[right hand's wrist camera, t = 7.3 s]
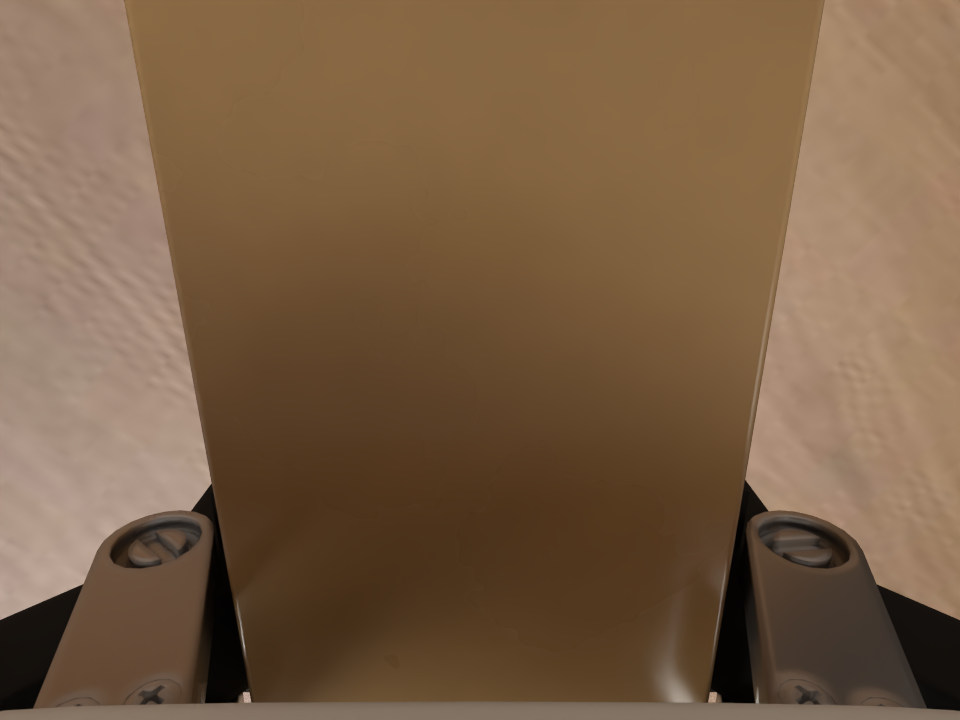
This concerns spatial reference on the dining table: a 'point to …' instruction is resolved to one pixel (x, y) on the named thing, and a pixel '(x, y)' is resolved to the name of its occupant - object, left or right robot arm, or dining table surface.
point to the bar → (476, 326)
